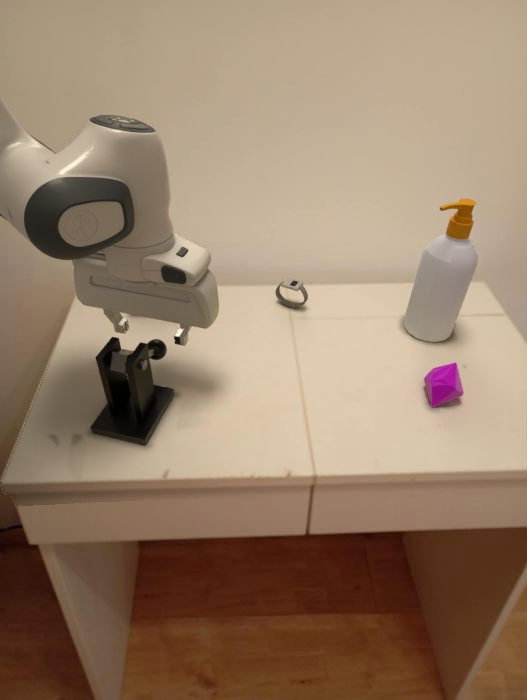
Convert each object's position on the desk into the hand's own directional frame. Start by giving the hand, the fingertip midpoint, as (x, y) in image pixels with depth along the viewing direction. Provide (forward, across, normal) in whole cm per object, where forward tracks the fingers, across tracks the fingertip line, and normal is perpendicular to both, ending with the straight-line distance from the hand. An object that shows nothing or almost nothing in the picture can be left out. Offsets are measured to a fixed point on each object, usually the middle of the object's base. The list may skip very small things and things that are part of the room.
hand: (151, 336), depth 70 cm
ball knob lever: (+1, 0, -5) cm, 5 cm away
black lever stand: (+7, 0, -9) cm, 11 cm away
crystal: (+7, +44, +7) cm, 45 cm away
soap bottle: (+6, +42, +24) cm, 49 cm away
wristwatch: (+7, +17, +24) cm, 30 cm away
